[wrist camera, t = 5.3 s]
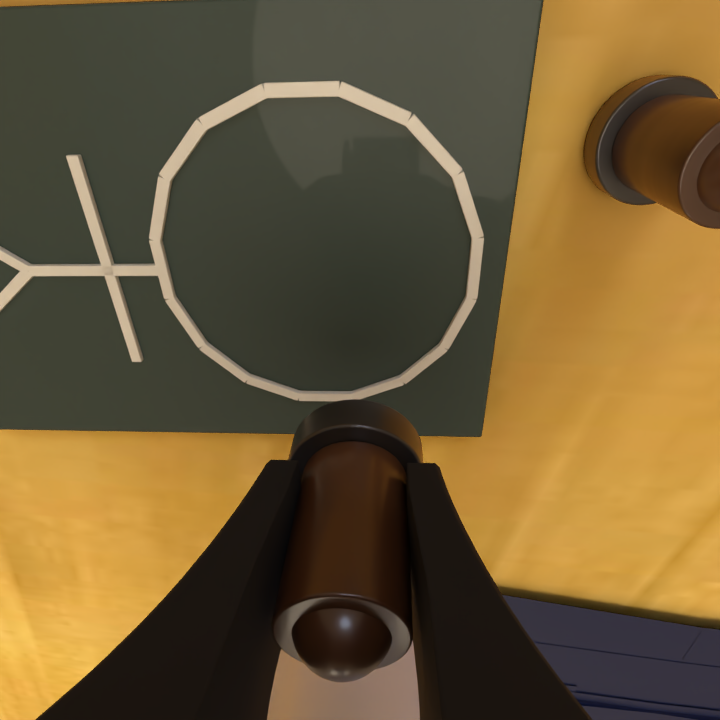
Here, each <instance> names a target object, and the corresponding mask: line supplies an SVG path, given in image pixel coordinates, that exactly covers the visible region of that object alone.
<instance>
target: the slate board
mask: <svg viewBox="0 0 720 720" xmlns="http://www.w3.org/2000/svg"><path fill="white" fill-rule="evenodd" d="M542 7H543V0H174V1H146V2H119V3H91V4H64V5H37V6H9V7H0V429H13V430H75V431H138V432H201V433H264V434H295V432H296V430H297V428H298V426H299V425H300V424H301V422H302V421H303V420H304V419H305V418H306V417H307V416H308V415H309V414H310V413H312V412H313V411H314V410H316V409H318V408H320V407H321V406H324V405H326V404H329V403H332V402H336V401H341V400H349V399H359V400H368V401H374V402H377V403H381V404H383V405H386V406H388V407H390V408H392V409H394V410H396V411H397V412H399V413H400V414H402V415H403V416H404V417H405V418H406V419H407V420H408V421H409V422H410V423H411V424H412V425H413V427H414V428H415V430H416V431H417V433H418V435H419V436H452V437H481V435H482V430H483V423H484V416H485V408H486V401H487V394H488V387H489V380H490V373H491V366H492V359H493V352H494V345H495V338H496V331H497V324H498V317H499V310H500V303H501V296H502V289H503V282H504V275H505V268H506V261H507V253H508V246H509V239H510V232H511V225H512V218H513V211H514V204H515V197H516V190H517V183H518V176H519V169H520V162H521V155H522V148H523V141H524V134H525V127H526V120H527V113H528V106H529V98H530V91H531V84H532V77H533V70H534V63H535V56H536V49H537V42H538V35H539V28H540V21H541V14H542Z"/></svg>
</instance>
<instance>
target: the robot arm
mask: <svg viewBox="0 0 720 720" xmlns="http://www.w3.org/2000/svg"><path fill="white" fill-rule="evenodd" d="M300 485H301V480H300V472H299V464H298V460H270V461H269V462H268V463H267V464H266V465H265V467H264V469H263V470H262V472H261V473H260V475H259V476H258V478H257V480H256V481H255V483H254V484H253V486H252V487H251V489H250V490H249V492H248V493H247V495H246V496H245V497H244V499H243V500H242V502H241V503H240V505H239V506H238V507H237V509H236V510H235V512H234V513H233V514H232V516H231V517H230V518H229V520H228V521H227V522H226V524H225V525H224V526H223V528H222V529H221V530H220V532H219V533H218V534H217V536H216V537H215V538H214V540H213V541H212V542H211V544H210V545H209V546H208V547H207V549H206V550H205V551H204V552H203V553H202V555H201V556H200V557H199V558H198V559H197V561H196V562H195V563H194V564H193V565H192V567H191V568H190V569H189V570H188V572H187V573H186V574H185V575H184V576H183V578H182V579H181V580H180V581H179V582H178V583H177V584H176V586H175V587H174V588H173V589H172V590H171V591H170V592H169V593H168V595H167V596H166V597H165V598H164V599H163V600H162V601H161V602H160V603H159V604H158V605H157V606H156V607H155V609H154V610H153V611H152V612H151V613H150V614H149V615H148V616H147V617H146V618H145V619H144V620H143V621H142V622H141V623H140V624H139V625H138V626H137V627H136V628H135V629H134V630H133V631H132V632H131V633H130V634H129V635H128V636H127V637H126V638H125V639H124V640H123V641H122V642H121V643H120V644H119V645H118V646H117V647H116V648H115V649H114V650H113V651H112V652H111V653H110V654H109V655H108V656H107V657H106V658H105V659H104V660H102V661H101V662H100V663H99V664H98V665H97V666H96V667H95V668H94V669H93V670H92V671H91V672H90V673H88V674H87V675H86V676H85V677H84V678H83V679H82V680H81V681H80V682H78V683H77V684H76V685H75V686H74V687H73V688H71V689H70V690H69V691H68V692H67V693H66V694H65V695H63V696H62V697H61V698H60V699H59V700H58V701H56V702H55V703H54V704H53V705H52V706H51V707H50V708H48V709H47V710H46V711H45V712H44V713H43V714H41V715H40V716H39V717H38V718H37V719H36V720H593V719H592V718H591V717H590V716H589V714H588V713H587V712H586V711H585V709H584V708H583V707H582V706H581V704H580V703H579V702H578V701H577V699H576V698H575V697H574V696H573V694H572V693H571V692H570V690H569V689H568V688H567V687H566V685H565V684H564V683H563V682H562V680H561V679H560V678H559V677H558V675H557V674H556V673H555V671H554V670H553V669H552V667H551V666H550V664H549V663H548V662H547V660H546V659H545V657H544V656H543V655H542V653H541V652H540V651H539V649H538V648H537V646H536V645H535V644H534V642H533V641H532V639H531V638H530V636H529V635H528V634H527V632H526V631H525V629H524V628H523V626H522V625H521V623H520V622H519V620H518V619H517V617H516V616H515V614H514V613H513V611H512V610H511V608H510V607H509V605H508V603H507V602H506V600H505V599H504V597H503V596H502V594H501V592H500V591H499V589H498V587H497V586H496V584H495V582H494V581H493V579H492V577H491V576H490V574H489V572H488V571H487V569H486V567H485V565H484V563H483V562H482V560H481V558H480V556H479V555H478V553H477V551H476V549H475V547H474V545H473V543H472V541H471V539H470V537H469V535H468V534H467V532H466V530H465V528H464V526H463V524H462V522H461V520H460V518H459V515H458V513H457V511H456V509H455V507H454V504H453V502H452V500H451V497H450V495H449V493H448V490H447V488H446V485H445V482H444V479H443V477H442V474H441V470H440V467H439V466H437V465H436V464H435V463H407V471H406V499H407V523H408V533H409V546H410V568H411V593H412V617H413V641H412V644H411V646H410V649H409V650H408V652H407V653H406V654H405V655H404V656H403V657H402V658H401V659H399V660H398V661H396V662H394V663H392V664H390V665H388V666H386V667H383V668H379V669H375V670H374V671H372V672H371V673H370V674H368V675H367V676H365V677H363V678H361V679H358V680H355V681H351V682H333V681H329V680H326V679H323V678H321V677H319V676H318V675H316V674H315V673H313V672H312V671H311V670H310V669H309V668H308V667H307V666H306V665H305V664H304V663H302V662H300V661H298V660H296V659H294V658H292V657H291V656H289V655H288V654H287V653H285V652H284V651H283V650H282V649H281V648H280V647H279V646H278V644H277V643H276V641H275V640H274V637H273V634H272V628H271V624H272V618H273V614H274V609H275V604H276V599H277V595H278V590H279V585H280V580H281V575H282V571H283V566H284V561H285V556H286V552H287V547H288V542H289V537H290V533H291V528H292V523H293V518H294V514H295V509H296V504H297V499H298V494H299V490H300Z"/></svg>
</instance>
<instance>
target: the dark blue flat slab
mask: <svg viewBox="0 0 720 720" xmlns="http://www.w3.org/2000/svg"><path fill="white" fill-rule="evenodd" d="M502 596H503V597H504V599H505V600H506V602H507V603H508V605H509V607H510V608H511V610H512V611H513V613H514V614H515V616H516V617H517V619H518V620H519V622H520V623H521V625H522V626H523V628H524V629H525V631H526V632H527V634H528V635H529V636H530V638H531V639H532V641H533V642H534V644H535V645H536V646H537V648H538V649H539V651H540V652H541V653H542V655H543V656H544V657H545V659H546V660H547V662H548V663H549V664H550V666H551V667H552V669H553V670H554V671H555V673H556V674H557V675H558V677H559V678H560V679H561V680H562V682H563V683H564V684H565V685H566V687H567V688H568V689H569V690H570V692H571V693H572V694H573V696H574V697H575V698H576V699H577V701H578V702H579V703H580V704H581V706H582V707H583V708H584V709H585V711H586V712H587V713H588V714H589V716H590V717H591V718H592V719H593V720H720V630H719V629H709V628H701V627H695V626H689V625H683V624H676V623H670V622H664V621H658V620H652V619H646V618H640V617H634V616H628V615H622V614H615V613H609V612H603V611H597V610H591V609H585V608H579V607H573V606H567V605H561V604H554V603H548V602H542V601H536V600H530V599H524V598H518V597H512V596H506V595H502Z"/></svg>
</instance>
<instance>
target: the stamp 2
mask: <svg viewBox="0 0 720 720" xmlns="http://www.w3.org/2000/svg"><path fill="white" fill-rule="evenodd" d="M584 159H585V166H586V169H587V172H588V174H589V177H590V178H591V180H592V181H593V183H594V184H595V185H596V186H597V187H598V188H599V189H600V190H602V191H603V192H605V193H606V194H608V195H610V196H611V197H613V198H615V199H616V200H618V201H620V202H623V203H626V204H631V205H649V204H654V203H658V204H660V205H662V206H664V207H666V208H668V209H670V210H672V211H673V212H675V213H677V214H679V215H681V216H683V217H685V218H687V219H689V220H690V221H692V222H694V223H696V224H698V225H700V226H703V227H707V228H714V229H720V99H718V98H717V96H716V95H715V93H714V92H713V91H712V89H710V88H709V87H708V86H707V85H706V84H704V83H703V82H701V81H700V80H697V79H694V78H691V77H686V76H673V75H654V76H649V77H645V78H641V79H639V80H636V81H634V82H632V83H630V84H628V85H626V86H625V87H623V88H622V89H620V90H619V91H618V92H616V93H615V94H614V95H613V96H612V97H611V98H610V99H609V100H608V101H607V102H606V103H605V104H604V105H603V106H602V108H601V109H600V110H599V112H598V113H597V115H596V116H595V118H594V120H593V122H592V124H591V126H590V128H589V131H588V134H587V137H586V141H585V148H584Z"/></svg>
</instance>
